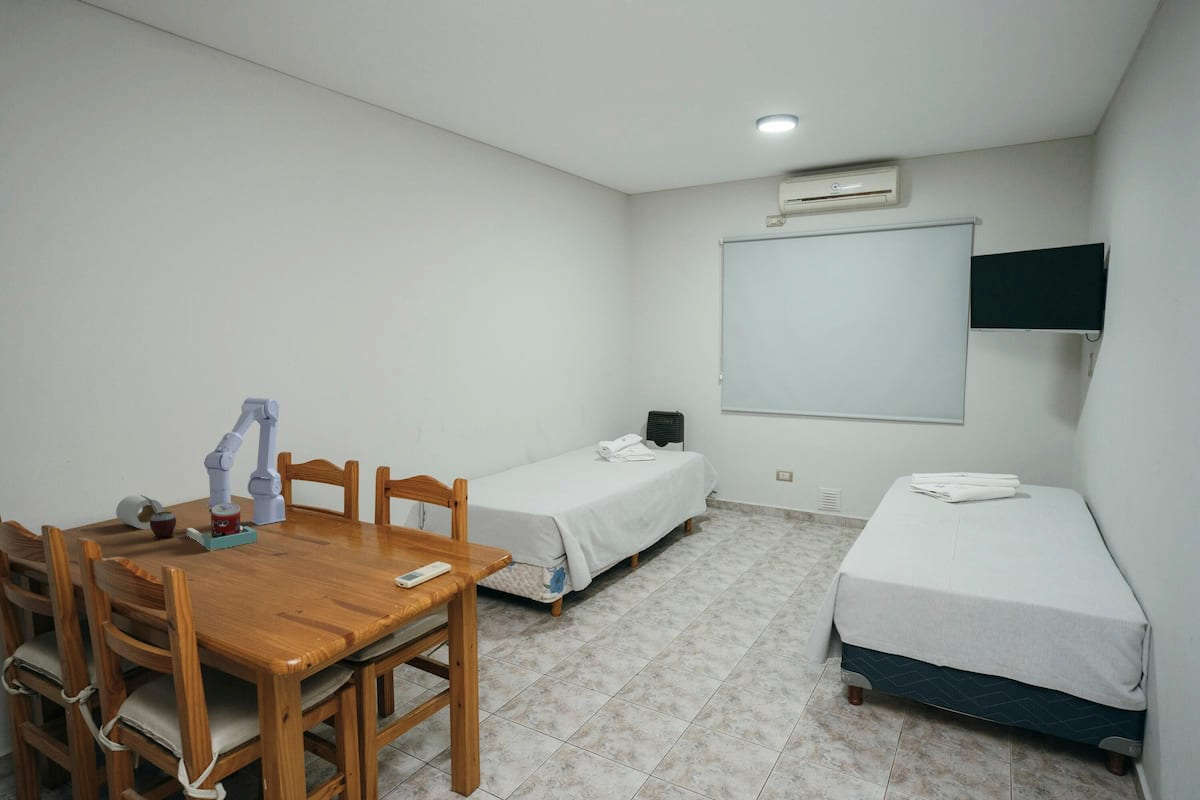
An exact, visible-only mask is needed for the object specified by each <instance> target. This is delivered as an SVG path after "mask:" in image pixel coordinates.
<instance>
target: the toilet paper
mask: <svg viewBox="0 0 1200 800" xmlns="http://www.w3.org/2000/svg"><path fill="white" fill-rule="evenodd" d="M149 499H150V500H152V502H153V505H154V507H155V509H156V511H157V513H159V512H164V508H163V505H162V503H161V502H159V501H158V500H156V499H153V498H149ZM141 509H142V510H141ZM115 510H116V511H115V513H116V517H117V520H119V521H120V522H121V523H123V524H125V525H128V526H131V527H135V528H137V529H140V530H147V529H151V527H150V520H151V517H152V516H153V514H155V512H154V510H153V508H152V506H151V504H150V503H149V501H148V500H147V499H146V498H144V497H142V496H141V495H137V494H131V495H128V496H126V497H124V498H123V499H122V500H121V501H119V503H118V504H117V506H116V509H115ZM140 510H141V512H140ZM139 512H140V514H139ZM138 514H139V515H138Z"/></svg>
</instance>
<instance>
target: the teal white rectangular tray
mask: <svg viewBox="0 0 1200 800" xmlns="http://www.w3.org/2000/svg"><path fill="white" fill-rule="evenodd" d="M188 536H189V537H190V539H191V538H192V539H194V540H196V541H197V542H199V543H200V544H202V545H203V546H205V547H206V548H208V549H210V550H215V549H220V548H225V549H228V548H227V547H230V548H233V547H232V546H235V547H238V546H237V545H240V546H242V545H241V544H245V545H247V544H246V543H250V544H252V543H251V542H254V543H256V542H255V541H257V542H258V531H257V530H255V529H253V528H251V527H249V526H246V525H245V526H242V525H240V533H238V534H233V535H228V536H223V537H218V538H213V537H211V535H210V534H208V533H204V534H203V533H202V532H199V530H196V529H194V528H193V527H187V528H186V537H188ZM189 537H188V538H189ZM192 539H191V540H192ZM194 540H193V541H194ZM197 542H196V543H197ZM199 543H198V544H199ZM200 544H199V545H200ZM202 545H201V546H202ZM203 546H202V547H203ZM205 547H204V548H205ZM206 548H205V549H206ZM208 549H207V550H208ZM220 550H221V549H220Z"/></svg>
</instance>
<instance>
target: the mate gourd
mask: <svg viewBox="0 0 1200 800" xmlns="http://www.w3.org/2000/svg"><path fill="white" fill-rule="evenodd" d="M140 496H142V497H144V498H146V499H147V500H148V501H149V503H150V504H151V506H152V508H153V510H154V512H155V514H153V516H152V517H151V520H150V527H151V528H150V529H151V531H152V532H153V534H154V536H153V538H155V541H157V542H158V541H161V540H163V539H168V538H172V539H174V536H173V533H174V530H175V529H176V525H177V519H176V516H175V514H174V512H172V511H163V512H159V513H157V511H156V509H155V507H154V505H153V502H152V500H150V499H151V498H149V497H147V496H145V495H142V494H140ZM160 539H161V540H160Z"/></svg>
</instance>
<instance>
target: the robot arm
mask: <svg viewBox="0 0 1200 800" xmlns="http://www.w3.org/2000/svg"><path fill="white" fill-rule="evenodd" d="M240 406H241V414H240V415H239V417H238V419H237V420H236V423H235V425H234V426H233V429H232V430H231V432H226V433H225V434H224V435H223V437H222V438H221V440H220V442H219V443H218V445H217V446H216V448H214V451H211V452H210V453H207V455H206V457H205V459H204V461H203V464H204V467H205V469H206V472H207V474H208V477H209V479H208V480H209V481H208V482H209V498H208V502H209V503H206V504H205V506H206V507H207V508H210V507H211V508H210V509H208V510H209V512H210V514H211V509H212V508H213V507H214V506H215V505H218V504H221V503H232V500H231V499H232V498H231V477H230V476H231V473H230V472H231V471H230V469H231V468H232V467H234V463H235V458H236V455H235V454H236V453H237V452H238V450H239V448H240V447H241V445H242V444H243V438H242V437H243V436H244V434H246V432H247V430H249V428H250V426H251V425H252V424H253V423H254V422H255V421H256V422H257V423H258V424H259V425H260V427H259V440H258V449H257V450H258V452H257V453H258V454H257V462H256V463H257V465H256V466H257V467H256V470H254V471H253V472H251V473H250V477H249V481H248V483H247V491H248V493H249V495H251V498H253V518H252V519H249V522H251V523H254V524H255V525H257V526H262V525H268V524H272V523H278V522H283V521H286V519H287V518H286V505H285V503H286V502H285V499H284V496H283V495H282V494H280V493H281V491H282V488H283V487H282V486H283V485H282V482H281V480H282V479H281V477H282V476H281V474H280V473H279V472H278V471H276V470H275V459H276V458H275V457H276V446H277V431H278V422H279V413H280V412H279V411H280V404H279V403H278V402H277V399H275V398H272V397H271V398H266V397H265V398H262V397H260V398H259V397H251V396H250V397H247V398H246V399H244V401H243V403H242V405H240ZM225 506H226V507H225ZM221 507H223V508H225V509H226V510H227V509H232V506H231V505H230V506H228V505H222V506H221Z"/></svg>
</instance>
